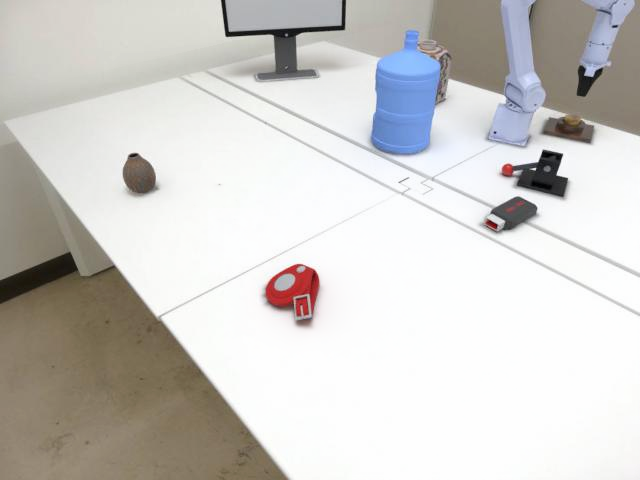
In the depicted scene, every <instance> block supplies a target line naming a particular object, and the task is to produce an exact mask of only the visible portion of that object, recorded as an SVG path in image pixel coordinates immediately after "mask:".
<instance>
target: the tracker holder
mask: <svg viewBox="0 0 640 480" xmlns="http://www.w3.org/2000/svg"><path fill="white" fill-rule="evenodd" d="M319 287H320V276H319V274H318V272H317V271H316V269H315V268H312V267H310V266H307V265H306V264H303V263H296V264H295V263H294V264H293V265H291V266H289V267H286V268H285V269H283V270H281V271H279V272H278V273H276V274H274V275H273V277H271V278H270V280H269V281H268V282H267V284H266V287H265V297H266V299H267V300H268V302H269V303H270V304H272V305H273V306H277V307H285V306H291V305H292V304H293V307H294V308H293V309H294V317H295V321H301V320H305V319H307V320H308V319H310V318H312V317H313V314H314V309H315V305H316V304H315V303H316V299H317V296H318V292H319Z"/></svg>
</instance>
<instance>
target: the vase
mask: <svg viewBox="0 0 640 480" xmlns="http://www.w3.org/2000/svg"><path fill="white" fill-rule="evenodd" d="M122 179H123V183H124V184H125V186H126V187H127V188H128V189H129V190H130V191H131V192H133V193H135V194H139V195H140V194H141V195H142V194H146V193H149V192H151V191H152V190H153V188H154V187H155V185H156V182H157V175H156V170H155V169H154V167H153V165H152V163H151V162H150V161H148V160H147V159H145V157H143V156H141V154H139V152H131V153H129V154H128V155H127V158H126V161H125V163H124V164H123V166H122Z"/></svg>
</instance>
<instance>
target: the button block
mask: <svg viewBox="0 0 640 480" xmlns="http://www.w3.org/2000/svg"><path fill="white" fill-rule="evenodd" d="M564 118H565V116H560V117H558V118H556V117H550V116H549V117H548V118H547V121H546V124H545V127H544V129H543V131H542V135H546V136H551V137H556V138H561V139H565V140H570V141H576V142H581V143H586V144H591V141H592V139H593V135H594V134H593V133H594V129H595V125H594V124H588V123H586V122H585V121H584V120H583V119H581V120H580V123H579V125H569V124H566V123H564V122H563V121H564Z"/></svg>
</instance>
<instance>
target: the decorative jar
mask: <svg viewBox="0 0 640 480" xmlns="http://www.w3.org/2000/svg"><path fill="white" fill-rule="evenodd" d="M417 50H418V51H420V52H422V53H423V54H425V55H427V56H429V57H431V58H433V59H435V60H436V61H438V62H439V64H440V66H441V68H440V79H439V84H438V87H437V94H436V100H435V105H437V104H439V103H440V102H442V101H444V100H445V99H446V96H447V91H448V85H449V79H450V74H451V67H452V61H453V57H452V55H451V54H450V51H449V50H448V49H447V48H446V47H444V46H442V45H439V44H437V41H436V40H433V39H422V40H420V43H418V44H417Z"/></svg>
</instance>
